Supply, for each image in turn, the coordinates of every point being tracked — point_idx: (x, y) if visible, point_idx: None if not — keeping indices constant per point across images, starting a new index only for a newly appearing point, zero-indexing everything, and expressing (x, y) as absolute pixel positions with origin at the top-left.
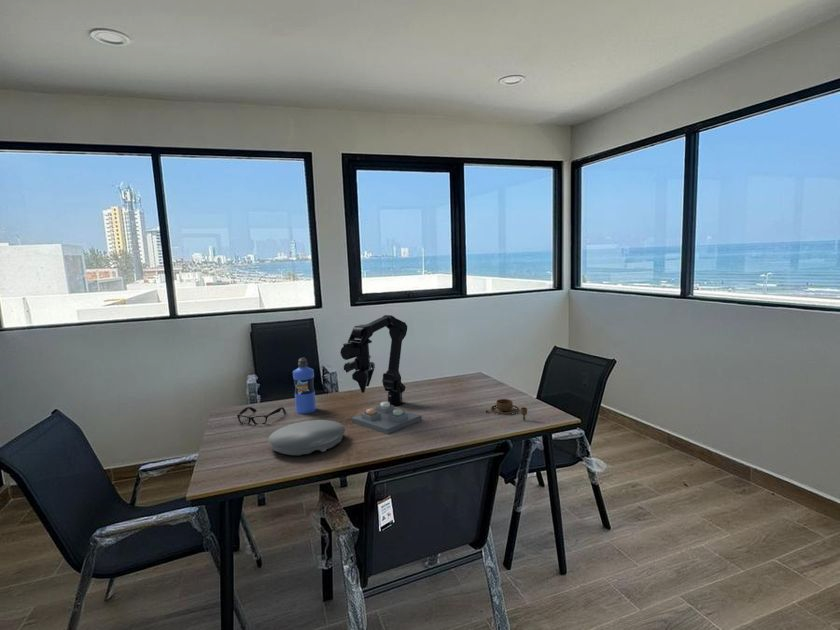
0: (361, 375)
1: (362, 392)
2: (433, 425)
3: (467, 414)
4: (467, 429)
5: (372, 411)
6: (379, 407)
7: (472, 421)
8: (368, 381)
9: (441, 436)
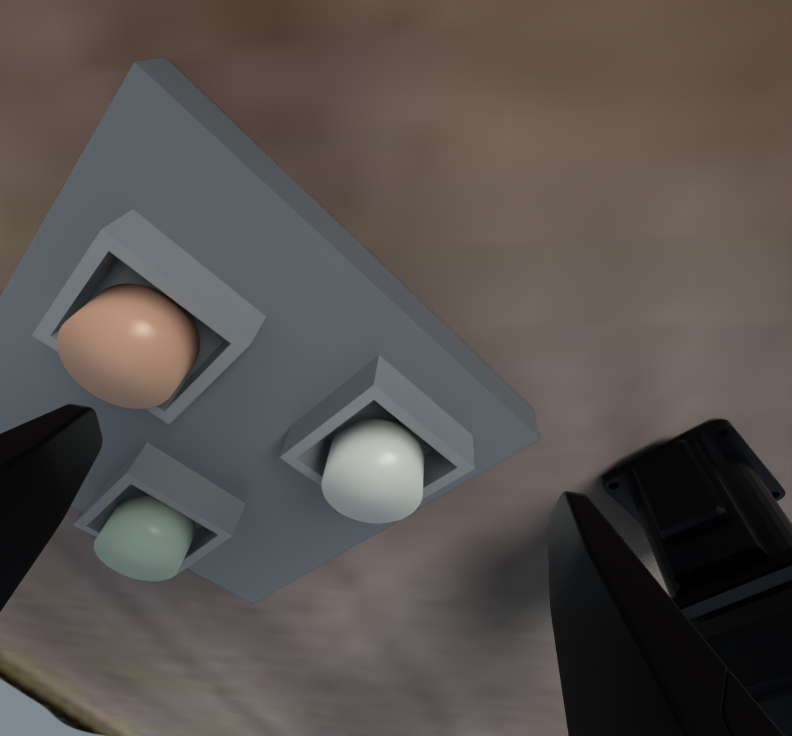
0: None
1: (70, 418)
2: (175, 603)
3: (339, 707)
4: (143, 677)
5: (76, 376)
6: (341, 416)
7: (244, 702)
8: (568, 638)
9: (30, 607)
